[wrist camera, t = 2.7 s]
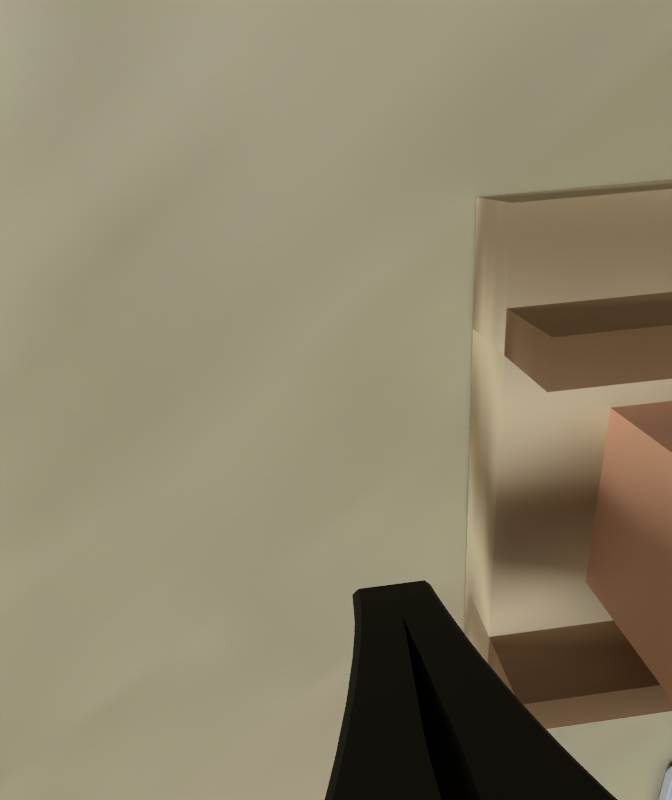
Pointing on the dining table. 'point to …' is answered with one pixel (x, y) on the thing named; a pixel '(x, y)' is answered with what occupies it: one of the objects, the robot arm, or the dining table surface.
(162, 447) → the dining table surface
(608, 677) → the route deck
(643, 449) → the block terracotta
